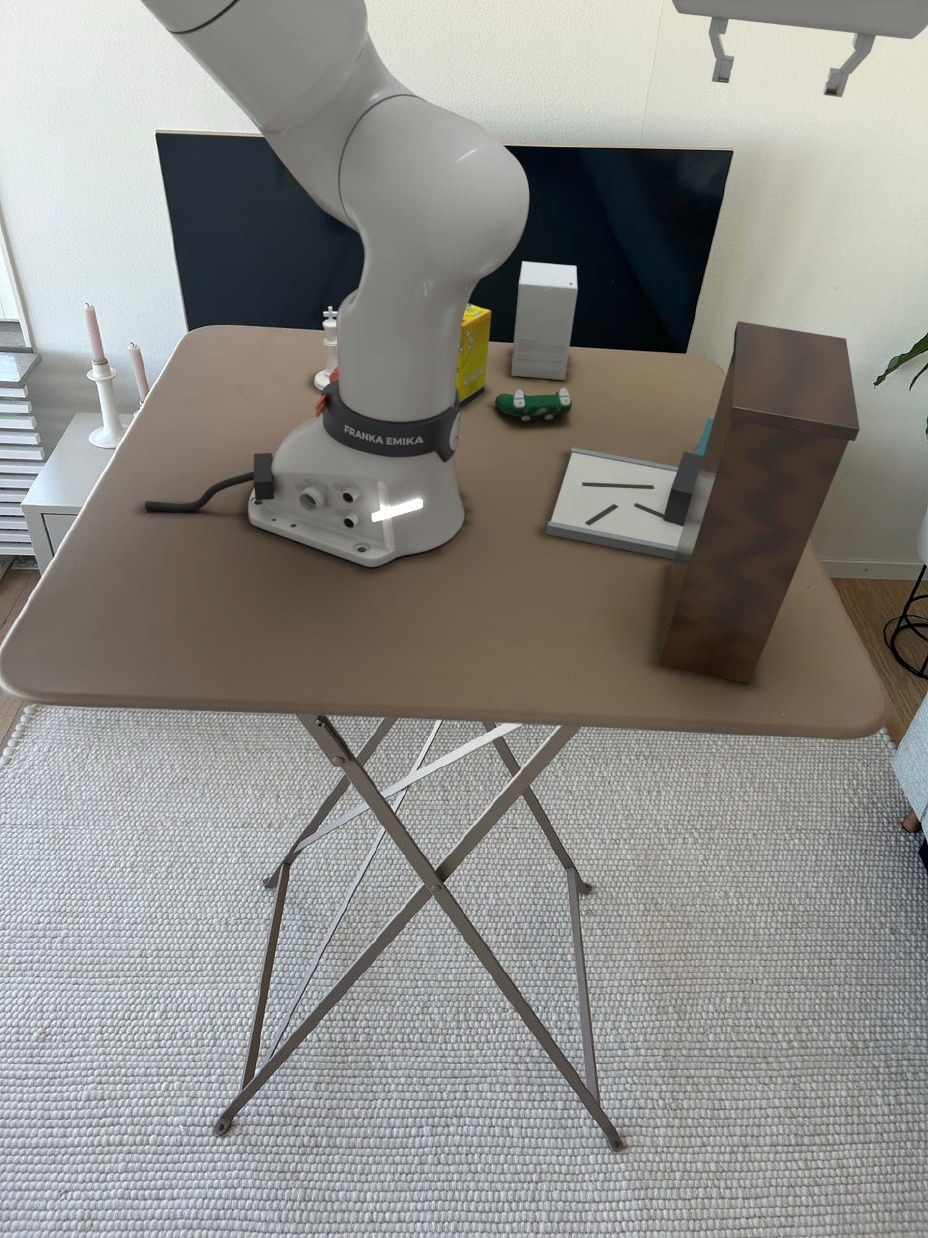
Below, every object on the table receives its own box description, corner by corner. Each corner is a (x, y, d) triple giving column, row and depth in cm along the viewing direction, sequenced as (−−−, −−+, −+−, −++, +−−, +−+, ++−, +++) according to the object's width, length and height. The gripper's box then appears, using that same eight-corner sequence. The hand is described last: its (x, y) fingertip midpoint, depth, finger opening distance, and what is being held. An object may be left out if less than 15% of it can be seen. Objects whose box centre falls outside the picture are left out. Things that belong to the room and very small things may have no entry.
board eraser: (662, 519, 93) (671, 488, 91) (692, 435, 107) (700, 406, 104) (709, 532, 92) (719, 500, 89) (733, 445, 106) (742, 415, 103)
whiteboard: (545, 534, 92) (547, 525, 91) (570, 455, 103) (571, 446, 103) (723, 569, 89) (726, 560, 89) (728, 485, 101) (731, 476, 100)
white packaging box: (565, 356, 122) (579, 264, 113) (564, 382, 116) (578, 287, 108) (512, 350, 122) (521, 259, 113) (509, 376, 117) (518, 282, 108)
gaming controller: (495, 426, 110) (506, 414, 105) (492, 396, 111) (503, 383, 105) (566, 423, 112) (580, 411, 106) (563, 393, 112) (577, 379, 106)
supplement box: (420, 393, 112) (422, 310, 104) (447, 376, 116) (451, 294, 108) (458, 409, 110) (463, 325, 102) (485, 391, 113) (492, 309, 106)
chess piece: (314, 373, 114) (309, 298, 107) (352, 373, 115) (350, 298, 108) (314, 392, 111) (309, 316, 104) (353, 392, 111) (351, 316, 104)
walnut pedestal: (655, 666, 79) (732, 406, 61) (668, 566, 89) (737, 320, 72) (752, 687, 78) (860, 428, 60) (754, 584, 88) (846, 338, 70)
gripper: (689, -134, 65) (651, 80, 75) (979, -108, 62) (901, 111, 72) (694, -137, 70) (657, 65, 79) (965, -113, 67) (893, 94, 76)
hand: (775, 87), depth 75 cm, fingers open, 8 cm apart
